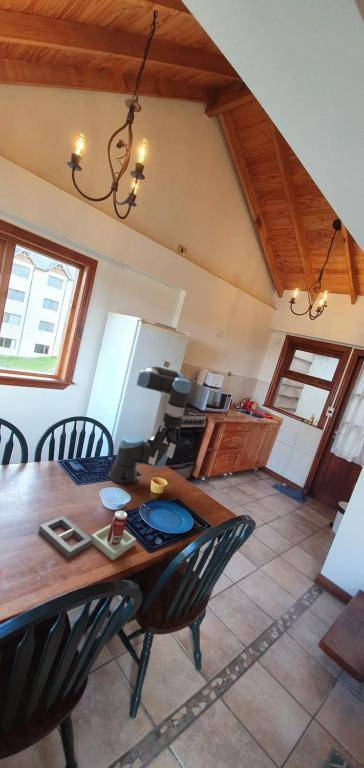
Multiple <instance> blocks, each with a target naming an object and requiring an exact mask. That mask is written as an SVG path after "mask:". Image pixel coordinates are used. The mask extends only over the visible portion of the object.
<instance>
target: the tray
mask: <svg viewBox="0 0 364 768" xmlns="http://www.w3.org/2000/svg"><path fill="white" fill-rule="evenodd" d="M110 527H111V523H110V524H109V525H107V526H104V527H103V528H102V529H101V528H100V529H99V530H98V531H96V532H94V533H93V534H91V537H90V538H91V539H92V542H91V545H93V546H95V547H96V548H97V549H99V551H101V553H103V554H105V556H107V558H109V559H110V560H111V561H114V560H116V559H117V558H119V557H120V556H121V555H122V554H124V553H125V552H127V551H128V550H130V549H131V548H132V547H134V546H135V544H136V541H137V538H136V537H135V536H133V535H132V534H130V533H129V532H128V531H126V530H125V529H124V531H123V535H122V539H121V542H120V544H119V545H117V546H112V545H110V544H108V542H107V538H108V534H109V530H110Z"/></svg>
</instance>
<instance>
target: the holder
mask: <svg viewBox="0 0 364 768" xmlns="http://www.w3.org/2000/svg"><path fill="white" fill-rule="evenodd" d="M59 526H61V527H63V529H64V530H66V531H64V532H62V533H60V534H57V533H55V531H54V530H52V529H55V528H56V527H59ZM38 532H39V533H40V534H41V535H42V536H43V537H45V538H46V539H47V540H48V541H49V542H50V543H51V544H52V545H53V546H54V547H55V548H57V550H58V551H60V552H61V553H62V554H63V555H64V556H65V557H66V558H67V559H70V558H72V557H73V556H74V555H77V554H78V553H80V552H81V551H83V550H85V549H86V548H88V547H90V546H91V545H92V543H91V542H92V539H91V537H90V536H89V535H87V534H86V533H85V532H83V530H82V529H80V528H79V527H78V526H77V525H76V524H74V523H73V522H72V521H70V520H69V519H68V518H67V517H66V516H65V515H61V516H58V517H56V518H52V519H51V520H49V521H46V522H45V523H42V524H40V525H39V528H38ZM71 536H73V537H74V538H75V539H77V540H78V541H79V542H77V543H75V544H74V545H72V546H70V544H68V543H67V542H66V541H65V540H66V539H68V538H70V537H71Z"/></svg>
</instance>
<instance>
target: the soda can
mask: <svg viewBox="0 0 364 768" xmlns="http://www.w3.org/2000/svg"><path fill="white" fill-rule="evenodd" d="M127 520H128V514H127V512H125V510H121V509H119V510H116V511H115V512H114V514H113V516H112V520H111V523H110V524H111V527H110V530H109V534H108V538H107V542H108V544H110V545H112V546H117V545H119V544H120V542H121V539H122V535H123V531H124V530H125V527H126V524H127Z"/></svg>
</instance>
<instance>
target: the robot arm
mask: <svg viewBox="0 0 364 768" xmlns="http://www.w3.org/2000/svg"><path fill="white" fill-rule="evenodd" d="M136 386H138V387H141V388H143V389H148V390H152V391H156V392H159V394H160V397H159V398H160V399H159V402H158V403H159V404H158V407H157V412H156V415H155V419H154V423H153V427H152V432H151V435H150V437H149V438H147V439H146V440H147V441H144V438H143V437H141V436H138V435H131V434H129V435H125V436H123V437H122V438H121V439H120V441H119V444H118V450H117V453H116V456H115V457H116V458H115V461H114V463H113V465H112V466H111V467H110V469H109V471H108V477H110V478H109V479H110V480H111V481H112V482H114V483H116V484H120V485H132V484H134V483H136V482H137V481H136V480H137V478H138V474H137V465H138V464H141V465H145V466H150V467H153V468H159V469H160V468H163V467H164V466H165V465H166V463H167V460H168V458H169V459H172V458H173V456H174V454H175V450H176V446H178V445H179V444H180V442H181V426H182V425H181V424H182V423H181V422H182V419H183V415H184V413H185V410H186V409H185V408H186V405H187V402H188V399H189V395H190V393H191V390H192V388H191V387H192V381H191V380H189V379H186V376H185V375H184V374H183V373H182V372H178V371H175V370H173V369H168V368H163V367H159V366H148V367H145V368H144V369H140V370H139V374H138V377H137V381H136ZM168 437H170V440H171V442H170V443H169V442H168V441H167V438H168Z"/></svg>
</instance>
